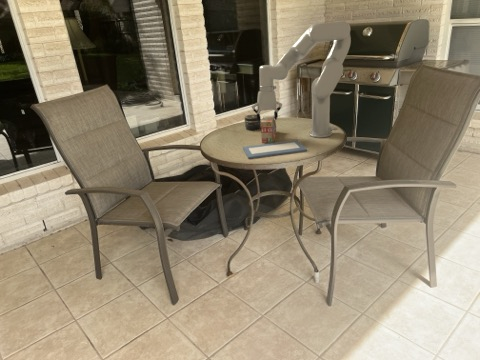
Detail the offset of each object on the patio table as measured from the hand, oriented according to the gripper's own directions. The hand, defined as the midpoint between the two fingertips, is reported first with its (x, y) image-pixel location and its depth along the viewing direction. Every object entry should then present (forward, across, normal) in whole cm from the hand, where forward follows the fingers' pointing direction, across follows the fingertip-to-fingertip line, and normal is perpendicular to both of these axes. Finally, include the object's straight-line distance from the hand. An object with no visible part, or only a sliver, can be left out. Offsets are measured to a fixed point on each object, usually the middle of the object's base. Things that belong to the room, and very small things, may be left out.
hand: (267, 119), depth 207 cm
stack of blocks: (+11, -1, 0) cm, 11 cm away
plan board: (+10, +2, +22) cm, 25 cm away
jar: (+11, +4, -22) cm, 25 cm away
